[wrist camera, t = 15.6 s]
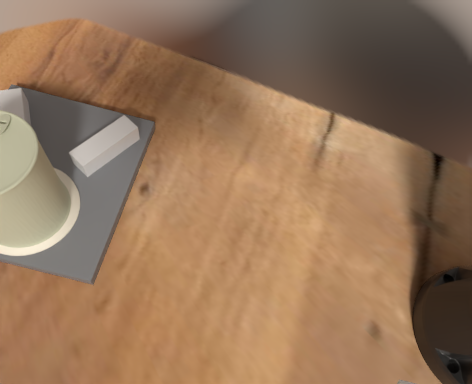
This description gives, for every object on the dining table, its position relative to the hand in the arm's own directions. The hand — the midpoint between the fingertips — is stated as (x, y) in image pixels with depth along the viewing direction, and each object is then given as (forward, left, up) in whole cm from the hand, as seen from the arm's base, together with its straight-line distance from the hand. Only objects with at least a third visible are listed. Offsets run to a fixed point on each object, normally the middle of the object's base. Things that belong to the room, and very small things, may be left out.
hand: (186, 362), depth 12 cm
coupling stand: (+21, -17, -30) cm, 40 cm away
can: (+21, -13, -28) cm, 37 cm away
